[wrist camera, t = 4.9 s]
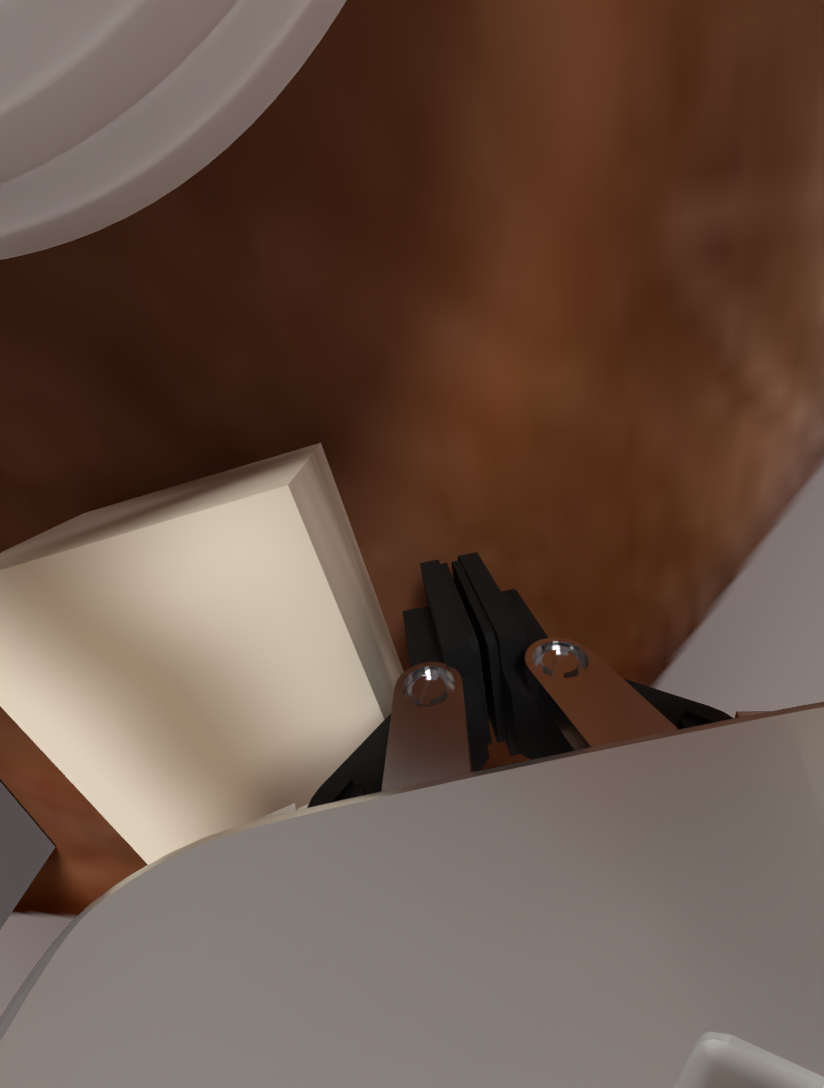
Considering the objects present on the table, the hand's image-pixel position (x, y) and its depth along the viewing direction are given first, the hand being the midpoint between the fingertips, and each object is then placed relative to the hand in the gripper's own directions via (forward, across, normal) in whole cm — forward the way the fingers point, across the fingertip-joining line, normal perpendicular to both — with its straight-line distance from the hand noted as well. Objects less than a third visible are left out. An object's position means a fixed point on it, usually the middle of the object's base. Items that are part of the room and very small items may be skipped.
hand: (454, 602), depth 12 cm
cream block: (+2, +6, 0) cm, 6 cm away
